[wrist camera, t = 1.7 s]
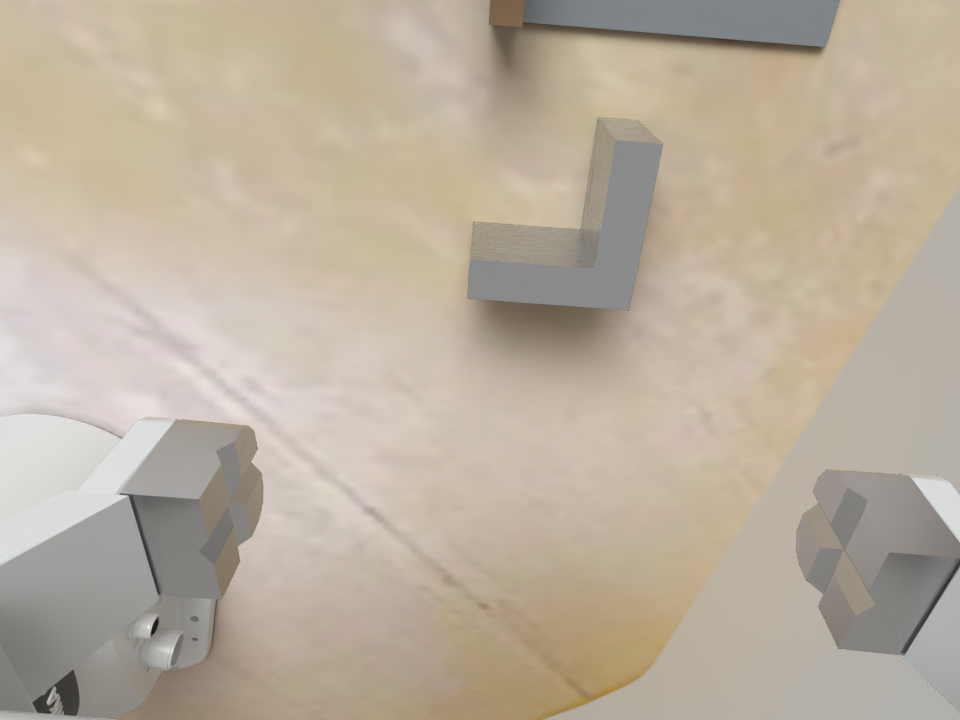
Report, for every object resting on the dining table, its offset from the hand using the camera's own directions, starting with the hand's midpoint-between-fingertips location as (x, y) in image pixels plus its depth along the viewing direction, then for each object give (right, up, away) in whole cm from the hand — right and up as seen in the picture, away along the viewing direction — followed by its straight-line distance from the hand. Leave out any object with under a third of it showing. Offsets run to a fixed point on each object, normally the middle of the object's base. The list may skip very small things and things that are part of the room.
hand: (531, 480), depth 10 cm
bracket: (+3, +10, +21) cm, 23 cm away
